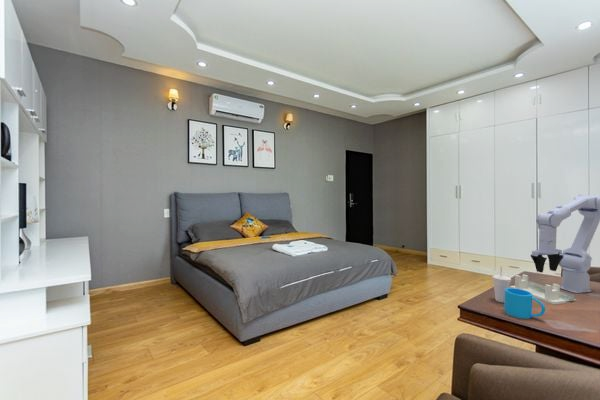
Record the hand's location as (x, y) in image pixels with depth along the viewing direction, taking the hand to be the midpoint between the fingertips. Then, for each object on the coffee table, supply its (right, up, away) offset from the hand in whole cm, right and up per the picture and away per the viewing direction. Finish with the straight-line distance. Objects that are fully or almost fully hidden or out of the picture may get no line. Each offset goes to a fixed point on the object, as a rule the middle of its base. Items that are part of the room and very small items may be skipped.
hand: (546, 271), depth 129 cm
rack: (-7, -10, -3) cm, 12 cm away
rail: (0, -9, -1) cm, 9 cm away
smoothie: (-26, -10, -9) cm, 29 cm away
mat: (0, -10, -1) cm, 10 cm away
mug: (-27, -11, -22) cm, 37 cm away
